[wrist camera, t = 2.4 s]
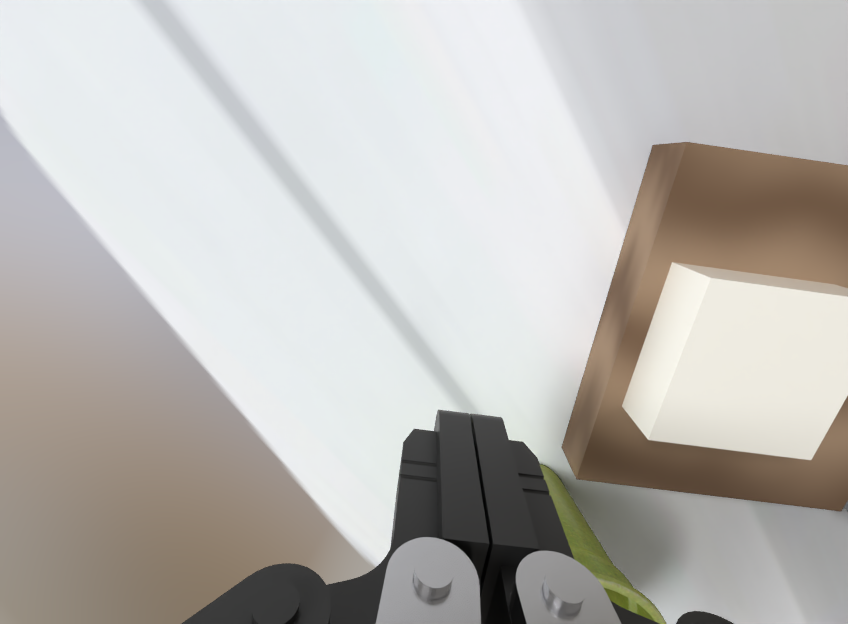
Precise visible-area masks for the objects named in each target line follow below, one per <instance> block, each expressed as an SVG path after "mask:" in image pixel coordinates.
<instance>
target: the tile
mask: <svg viewBox="0 0 848 624" xmlns="http://www.w3.org/2000/svg"><path fill="white" fill-rule="evenodd" d="M847 396H848V288H845V287H842V286H838V285H835V284H828V283H820V282H813V281H806V280H798V279H791V278H784V277H777V276H769V275H762V274H755V273H747V272H740V271H733V270H726V269H718V268H711V267H704V266H696V265H689V264H682V263H674V262H672V264H671V267H670V270H669V273H668V275H667V278H666V281H665V284H664V287H663V290H662V293H661V296H660V298H659V301H658V304H657V307H656V310H655V313H654V316H653V318H652V321H651V324H650V327H649V330H648V333H647V336H646V339H645V341H644V344H643V347H642V350H641V353H640V356H639V359H638V361H637V364H636V367H635V370H634V373H633V376H632V379H631V382H630V384H629V387H628V390H627V393H626V396H625V399H624V402H623V404H622V407H623V408H624V410H625V411H626V412H627V414H628V415H629V416H630V417H631V419H632V420H633V421H634V422H635V424H636V425H637V426H638V428H639V429H640V430H641V431H642V433H643V434H644V435H645V436H646V438H647V439H648V440H652V441H660V442H668V443H676V444H684V445H692V446H701V447H709V448H717V449H725V450H733V451H741V452H749V453H757V454H765V455H773V456H781V457H789V458H797V459H805V460H812V458H813V456H814V454H815V453H816V451H817V449H818V447H819V446H820V444H821V442H822V440H823V438H824V437H825V435H826V433H827V431H828V430H829V428H830V426H831V424H832V423H833V421H834V419H835V417H836V415H837V414H838V412H839V410H840V408H841V407H842V405H843V403H844V401H845V399H846V398H847Z"/></svg>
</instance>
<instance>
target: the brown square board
mask: <svg viewBox="0 0 848 624" xmlns="http://www.w3.org/2000/svg"><path fill="white" fill-rule="evenodd" d="M672 262H674V263H682V264H689V265H696V266H704V267H711V268H718V269H726V270H733V271H740V272H747V273H755V274H762V275H769V276H777V277H784V278H791V279H798V280H806V281H813V282H820V283H828V284H835V285H838V286H842V287H845V288H848V165H841V164H834V163H827V162H820V161H813V160H807V159H800V158H793V157H786V156H779V155H772V154H765V153H758V152H752V151H745V150H738V149H731V148H724V147H717V146H710V145H704V144H697V143H690V142H682V143H671V144H659V145H653V146H652V150H651V153H650V156H649V160H648V163H647V166H646V170H645V173H644V176H643V179H642V183H641V186H640V189H639V193H638V196H637V199H636V203H635V206H634V209H633V213H632V216H631V219H630V223H629V226H628V229H627V232H626V236H625V239H624V242H623V246H622V249H621V252H620V256H619V259H618V262H617V266H616V269H615V272H614V276H613V279H612V282H611V285H610V289H609V292H608V295H607V299H606V302H605V305H604V309H603V312H602V315H601V319H600V322H599V325H598V329H597V332H596V335H595V338H594V342H593V345H592V348H591V352H590V355H589V358H588V362H587V365H586V368H585V372H584V375H583V378H582V381H581V385H580V388H579V391H578V395H577V398H576V401H575V405H574V408H573V411H572V415H571V418H570V421H569V425H568V428H567V431H566V434H565V438H564V441H563V444H562V449H563V451H564V453H565V455H566V458H567V460H568V462H569V464H570V466H571V469H572V471H573V473H574V475H575V477H576V479H579V480H587V481H596V482H604V483H612V484H620V485H629V486H637V487H645V488H653V489H662V490H670V491H678V492H686V493H695V494H703V495H711V496H719V497H728V498H736V499H744V500H752V501H761V502H769V503H777V504H785V505H794V506H802V507H810V508H818V509H827V510H835V511H841V510H842V509H843V507H844V506H845V504H846V502H847V501H848V396H847V398H846V399H845V401H844V403H843V405H842V407H841V408H840V410H839V412H838V414H837V415H836V417H835V419H834V421H833V423H832V424H831V426H830V428H829V430H828V431H827V433H826V435H825V437H824V438H823V440H822V442H821V444H820V446H819V447H818V449H817V451H816V453H815V454H814V456H813V458H812V460H805V459H797V458H789V457H781V456H773V455H765V454H757V453H749V452H741V451H733V450H725V449H717V448H709V447H701V446H692V445H684V444H676V443H668V442H660V441H652V440H648V439H647V438H646V436H645V435H644V434H643V433H642V431H641V430H640V429H639V428H638V426H637V425H636V424H635V422H634V421H633V420H632V419H631V417H630V416H629V415H628V414H627V412H626V411H625V410H624V408H623V407H622V404H623V402H624V399H625V396H626V393H627V390H628V387H629V384H630V382H631V379H632V376H633V373H634V370H635V367H636V364H637V361H638V359H639V356H640V353H641V350H642V347H643V344H644V341H645V339H646V336H647V333H648V330H649V327H650V324H651V321H652V318H653V316H654V313H655V310H656V307H657V304H658V301H659V298H660V296H661V293H662V290H663V287H664V284H665V281H666V278H667V275H668V273H669V270H670V267H671V264H672Z"/></svg>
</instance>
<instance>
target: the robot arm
mask: <svg viewBox="0 0 848 624" xmlns="http://www.w3.org/2000/svg"><path fill="white" fill-rule="evenodd" d="M549 492H550V491H549V489H548V486H547V483H546V480H544V475H543V472H542V469H541V467H540V464H539V461H538V459H537V457H536V456H535V455H534V454H533V453H532V452H531V450H530V449H529V448H528V447H527V446H526V445H525V444H524V443H523V442H519V441H511V440H508V436H507V433H506V429H505V425H504V422H503V419H502V418H501V417H494V416H486V415H478V414H470V415H469V414H468V413H461V412H452V411H444V410H438V412H437V416H436V422H435V428H434V431H427V430H419V429H414V430H413V431H412V432H411V433H410V435H409V436H408V437H407V438H406V440H405V441H404V442H403V450H402V457H401V465H400V472H399V480H398V487H397V494H396V503H395V512H394V521H393V531H392V540H391V548H390V551H389V552H388V554H387V556H386V557H385V559H384V560H383V561H382V562H381V563H380V564H379V565H378V566H377V567H376V568H375V569H373V570H372V571H370V572H369V573H367V574H365V575H363V576H360V577H358V578H354V579H351V580H347V581H342V582H338V583H333V584H329V585H326V584H325V583H324V581H323V580H322V579H321V577H320V576H319V575H318V574H316V572H314V571H313V570H311V569H309V568H307V567H305V566H301V565H298V564H277V565H272V566H269V567H266V568H263V569H261V570H259V571H257V572H255V573H253V574H252V575H250V576H248V577H247V578H246V579H244V580H243V581H241V582H240V583H239V584H237V585H236V586H234V587H233V588H231V589H230V590H229V591H227V592H226V593H224V594H223V595H221V596H220V597H219V598H217V599H216V600H215V601H213V602H212V603H210V604H209V605H207V606H206V607H204V608H203V609H202V610H200V611H199V612H197V613H196V614H195V615H193V616H192V617H190V618H189V619H188V620H186V621H185V622H183V623H182V624H660V623H657V622H655V621H653V620H650V619H648V618H645V617H643V616H641V615H638V614H636V613H634V612H631V611H629V610H627V609H625V608H623V607H621V606H619V605H617V604H615V603H614V602H612V601H610V599H609V597H608V595H607V593H606V591H605V590H604V588H603V586H602V585H601V583H600V582H599V581H598V579H597V578H596V577H595V576H594V575H593V574H592V573H591V572H590V571H589V570H588V569H587V568H586V567H585V566H583V565H582V564H581V563H579V562H578V561H576V560H575V559H574V557H573V554H572V551H571V549H570V546H569V543H568V540H567V538H566V535H565V532H564V530H563V527H562V524H561V521H560V519H559V516H558V513H557V510H556V508H555V505H554V502H553V500H552V497H551V495H549ZM676 624H733V623H732V622H730V621H728V620H726V619H724V618H722V617H719V616H717V615H714V614H711V613H707V612H701V611H693V612H688V613H685V614H683V615H682V616H681V617H680V618H679V619H678V621H677V623H676Z"/></svg>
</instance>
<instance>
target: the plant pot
mask: <svg viewBox="0 0 848 624" xmlns="http://www.w3.org/2000/svg"><path fill="white" fill-rule="evenodd" d="M540 467H541V469H542V472H543V475H544V480H546V483H547V486H548V489H549V491H550V492H549V495H551V497H552V500H553V502H554V505H555V508H556V510H557V513H558V516H559V519H560V521H561V524H562V527H563V530H564V532H565V535H566V538H567V540H568V543H569V546H570V549H571V551H572V554H573V557H574V559H575V560H576V561H578V562H579V563H581V564H582V565H583V566H585V567H586V568H587V569H588V570H589V571H590V572H591V573H592V574H593V575H594V576H595V577H596V578H597V579H598V581H599V582H600V583H601V585H602V586H603V588H604V590H605V591H606V593H607V595H608V597H609V599H610V601H612V602H614V603H615V604H617V605H619V606H621V607H623V608H625V609H627V610H629V611H631V612H634V613H636V614H638V615H641V616H643V617H645V618H648V619H650V620H653V621H655V622H657V623H660V624H666V622H665V620H664V618H663V616H662V615H661V613H660V612H659V611H658V609H657V608H656V607H655V606H654V604H653V603H652V602H651V601H650V600H649V599H648V598H647V597H645V596H644V595H643V594H642V593H640V592H639V591H638V590H636V589H634V588H633V586H632V585H631V583H630V582H629V581H628V579H627V578H626V577H625V576H624V575H623V574H622V573H621V572H620V571H619V570H618V569H617V568H616V567H615V566H614V565H613V563H612V562H611V560H610V559H609V557H608V556H607V554H606V552H605V551H604V549H603V547H602V546H601V544H600V543H599V541H598V540H597V538H596V536H595V535H594V533H593V532H592V530H591V528H590V527H589V525H588V524H587V522H586V521H585V519H584V517H583V516H582V514H581V512H580V511H579V509H578V508H577V506H576V504H575V503H574V501H573V499H572V498H571V496H570V495H569V493H568V491H567V490H566V488H565V487H564V485H563V483H562V482H561V480H560V479H559V478H558V476H557V475H556V474H555V473H554V472H553V471H552V470H550V469H549V468H548V467H546V466H544V465H540Z"/></svg>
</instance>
